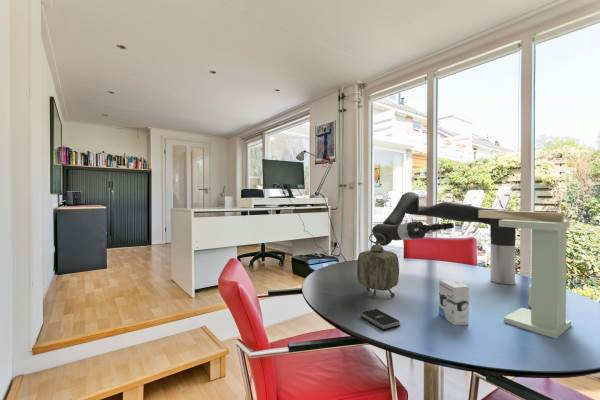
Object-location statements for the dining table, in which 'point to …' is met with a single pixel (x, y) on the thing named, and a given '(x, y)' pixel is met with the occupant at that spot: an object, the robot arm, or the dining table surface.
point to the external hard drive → (380, 319)
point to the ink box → (454, 301)
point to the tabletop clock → (378, 268)
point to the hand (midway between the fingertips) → (447, 225)
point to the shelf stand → (544, 278)
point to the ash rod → (522, 215)
